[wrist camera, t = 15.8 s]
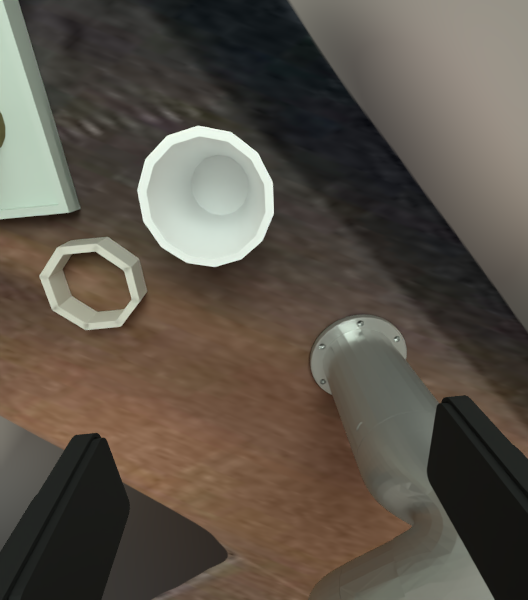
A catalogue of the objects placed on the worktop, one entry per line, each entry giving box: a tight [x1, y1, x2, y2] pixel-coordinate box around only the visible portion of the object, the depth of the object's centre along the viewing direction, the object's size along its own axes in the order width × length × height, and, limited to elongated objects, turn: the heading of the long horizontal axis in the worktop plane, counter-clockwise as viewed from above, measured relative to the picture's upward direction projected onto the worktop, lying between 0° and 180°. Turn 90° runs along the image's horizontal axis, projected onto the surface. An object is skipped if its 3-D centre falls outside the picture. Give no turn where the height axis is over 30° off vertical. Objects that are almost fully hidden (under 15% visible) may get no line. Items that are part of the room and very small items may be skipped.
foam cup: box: [137, 126, 274, 267], centre depth 29 cm, size 10×9×13 cm
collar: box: [40, 237, 147, 330], centre depth 37 cm, size 10×10×3 cm
